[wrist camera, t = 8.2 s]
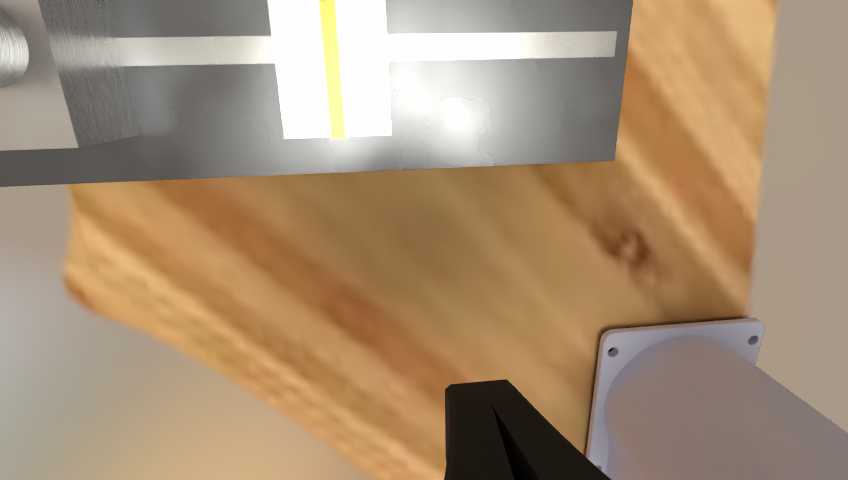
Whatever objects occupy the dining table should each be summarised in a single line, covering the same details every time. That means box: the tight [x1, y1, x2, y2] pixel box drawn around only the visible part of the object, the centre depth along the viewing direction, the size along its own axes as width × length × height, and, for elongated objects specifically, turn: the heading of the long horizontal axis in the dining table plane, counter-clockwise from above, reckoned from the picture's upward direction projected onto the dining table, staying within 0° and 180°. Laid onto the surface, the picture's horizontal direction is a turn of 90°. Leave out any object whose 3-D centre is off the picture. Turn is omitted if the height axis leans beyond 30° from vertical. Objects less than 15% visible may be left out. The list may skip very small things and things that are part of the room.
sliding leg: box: [267, 0, 391, 139], centre depth 13 cm, size 5×3×2 cm, turn 1°
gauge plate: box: [0, 0, 633, 187], centre depth 12 cm, size 8×22×7 cm, turn 91°
